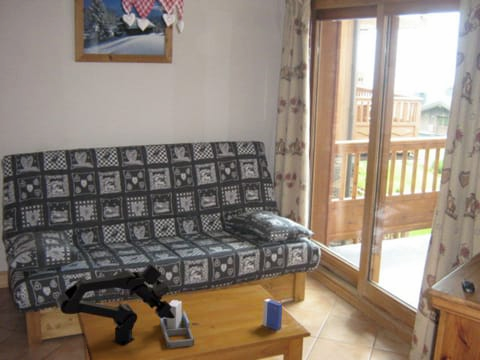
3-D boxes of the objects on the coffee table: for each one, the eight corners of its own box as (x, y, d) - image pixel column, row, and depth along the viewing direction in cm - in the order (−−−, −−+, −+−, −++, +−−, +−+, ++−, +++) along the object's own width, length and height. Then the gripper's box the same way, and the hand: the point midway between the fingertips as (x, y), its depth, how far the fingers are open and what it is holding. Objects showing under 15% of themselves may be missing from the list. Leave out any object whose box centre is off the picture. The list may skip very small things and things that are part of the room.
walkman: (281, 328, 252) (282, 302, 249) (277, 330, 249) (279, 304, 247) (265, 322, 256) (267, 297, 253) (262, 325, 254) (263, 299, 251)
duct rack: (194, 345, 235) (194, 334, 234) (167, 348, 232) (167, 336, 231) (184, 321, 254) (184, 311, 253) (160, 324, 251) (160, 313, 250)
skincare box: (172, 325, 251) (172, 299, 248) (181, 326, 249) (182, 301, 247) (166, 331, 245) (166, 305, 242) (175, 333, 244) (176, 306, 241)
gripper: (167, 286, 230) (191, 307, 238) (150, 269, 246) (173, 289, 254) (148, 308, 228) (173, 328, 236) (131, 290, 244) (156, 309, 252)
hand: (169, 313), depth 244 cm, fingers open, 9 cm apart
